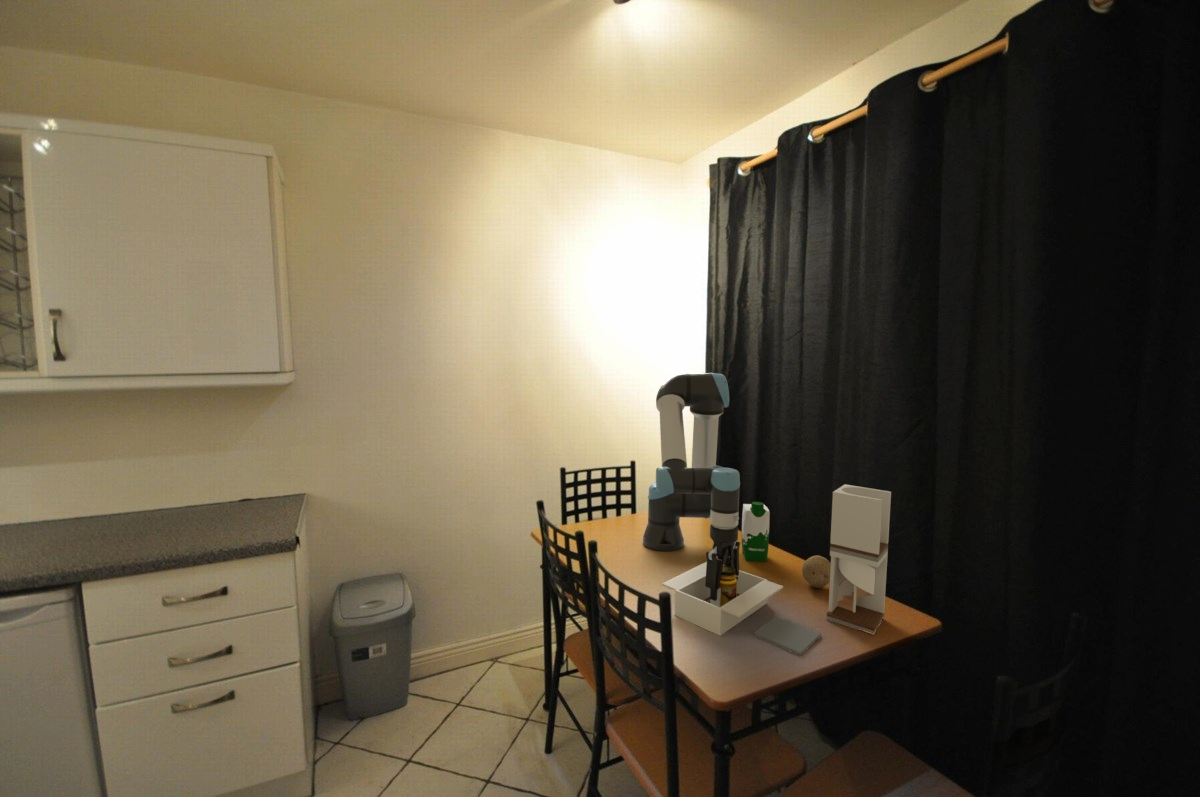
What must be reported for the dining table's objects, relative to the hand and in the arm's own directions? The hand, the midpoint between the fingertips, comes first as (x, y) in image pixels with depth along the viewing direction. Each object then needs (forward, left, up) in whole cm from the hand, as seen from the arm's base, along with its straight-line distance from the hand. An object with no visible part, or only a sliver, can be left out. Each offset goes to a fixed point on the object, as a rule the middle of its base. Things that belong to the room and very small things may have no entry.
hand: (721, 605), depth 143 cm
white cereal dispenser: (+28, +21, -1) cm, 35 cm away
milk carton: (-12, +40, -1) cm, 42 cm away
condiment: (0, 0, -1) cm, 1 cm away
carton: (0, 0, -1) cm, 1 cm away
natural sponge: (+13, +32, -1) cm, 35 cm away
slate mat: (+19, 0, -1) cm, 19 cm away
